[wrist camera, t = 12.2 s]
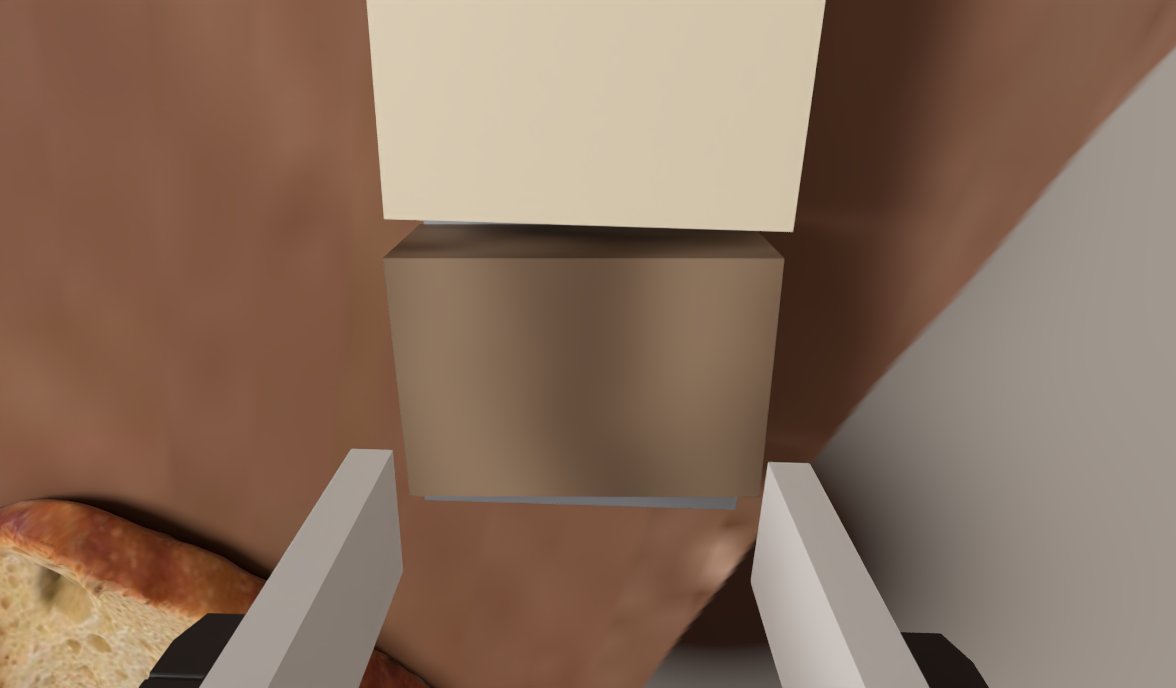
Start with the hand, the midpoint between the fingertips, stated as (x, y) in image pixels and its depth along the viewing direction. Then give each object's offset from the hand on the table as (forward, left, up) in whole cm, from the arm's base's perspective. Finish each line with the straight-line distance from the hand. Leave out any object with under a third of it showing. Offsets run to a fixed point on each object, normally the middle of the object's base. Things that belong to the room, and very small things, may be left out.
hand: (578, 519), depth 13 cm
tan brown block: (0, 0, -10) cm, 10 cm away
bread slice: (-14, -16, -12) cm, 24 cm away
